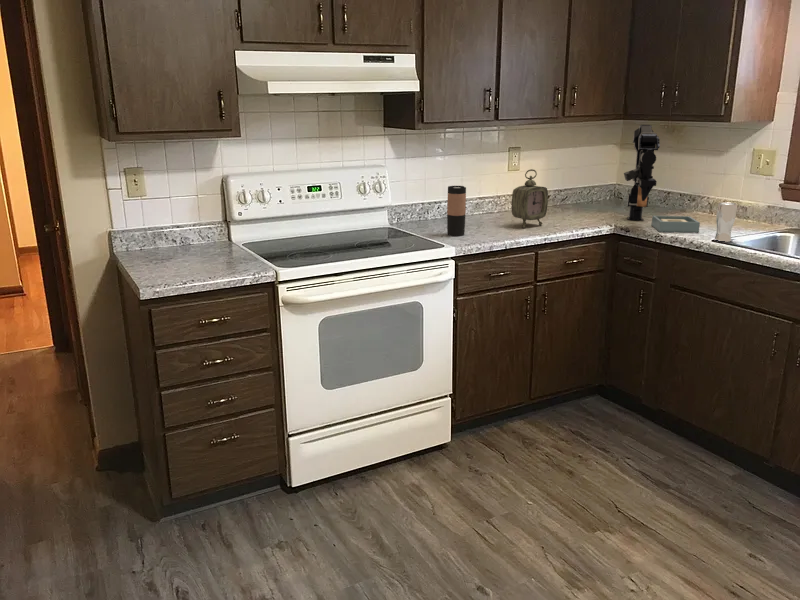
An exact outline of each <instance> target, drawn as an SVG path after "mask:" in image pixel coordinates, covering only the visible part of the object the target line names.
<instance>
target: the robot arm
mask: <svg viewBox="0 0 800 600" xmlns="http://www.w3.org/2000/svg"><path fill="white" fill-rule="evenodd" d="M652 128H653V127H652V125H651V124H641V125H640V124H639V127H638V128H637V129H636V130H634V131H633V136H632V143H633V148H634V150H635V152H636V157H635V168H634V169H632V170H629V171H624V172H623V175H624V179H625V181H627V182H629V181H631V180H632V181H633V186H632V187H631V188H630V190H629V193H628V195H627V199H626V206H627V207H629V214H628V216H626V218H627V220H629V221H644V218H643V212H644V211H643V209H644V207H640V206H637V198H638V188H639V187H640V188H641V195H642V201H645V199H646V198H647V205H646V207H645V208H647V207H648V205H649V199H650V197H649V194H650V192H651V191H652V189H653V188H654V187H656V186H657V180H656V179H655V178H653V170H654V168H655V166H654V164H655V163H656V161H657V155H656V153H655V151H659V149H660V144H661V143H660V142H661V141H660V138H659V136H658V134H657V133H656V132H654V130H653V129H652Z"/></svg>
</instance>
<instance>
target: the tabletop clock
mask: <svg viewBox="0 0 800 600" xmlns="http://www.w3.org/2000/svg"><path fill="white" fill-rule="evenodd" d="M529 172H534V173H535V175H534V176H532V175H529V177H528V176H527V174H528V173H529ZM537 175H538V173H537V171H536V170H535V169H533V168H532V169H528V170H526V172H525V174H524V177H525V178H526V179H527V180H525V182H524V184H523V185H519V186H517V187H515V188H514V189H513V190H512V193H511V214H512V216H513V217H515V218H516V219H521V220H522V224H521V228H522V229H525V228H526V225H527V222H526V221H536V220H537V221H538V225H539V226H543V222H542V221H540V220H541V219H543V218H545V217H546V215H547V211H548V204H549V193H548V188H547V187H545V186H540V185H537V182H536V181H535V180H534V179H535V178H536V177H537Z"/></svg>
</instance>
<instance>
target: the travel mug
mask: <svg viewBox="0 0 800 600" xmlns="http://www.w3.org/2000/svg"><path fill="white" fill-rule="evenodd" d="M446 203H447V206H446V207H447V208H446V211H447V212H446V227H447V231H446V233H447V236H448V237H450V236H451V237H462V236H465V229H466V215H467V213H466V212H467V211H466V210H467V209H466V207H467V206H466V203H467V187H466V186H464V185H448V186H447V202H446Z"/></svg>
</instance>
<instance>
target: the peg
mask: <svg viewBox="0 0 800 600" xmlns="http://www.w3.org/2000/svg"><path fill="white" fill-rule="evenodd" d="M646 205H647V198H646V199H645V201H642V195H641V188H640V187H639V188H638V198H637V206H640V207H643V208H647V207H646Z"/></svg>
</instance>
